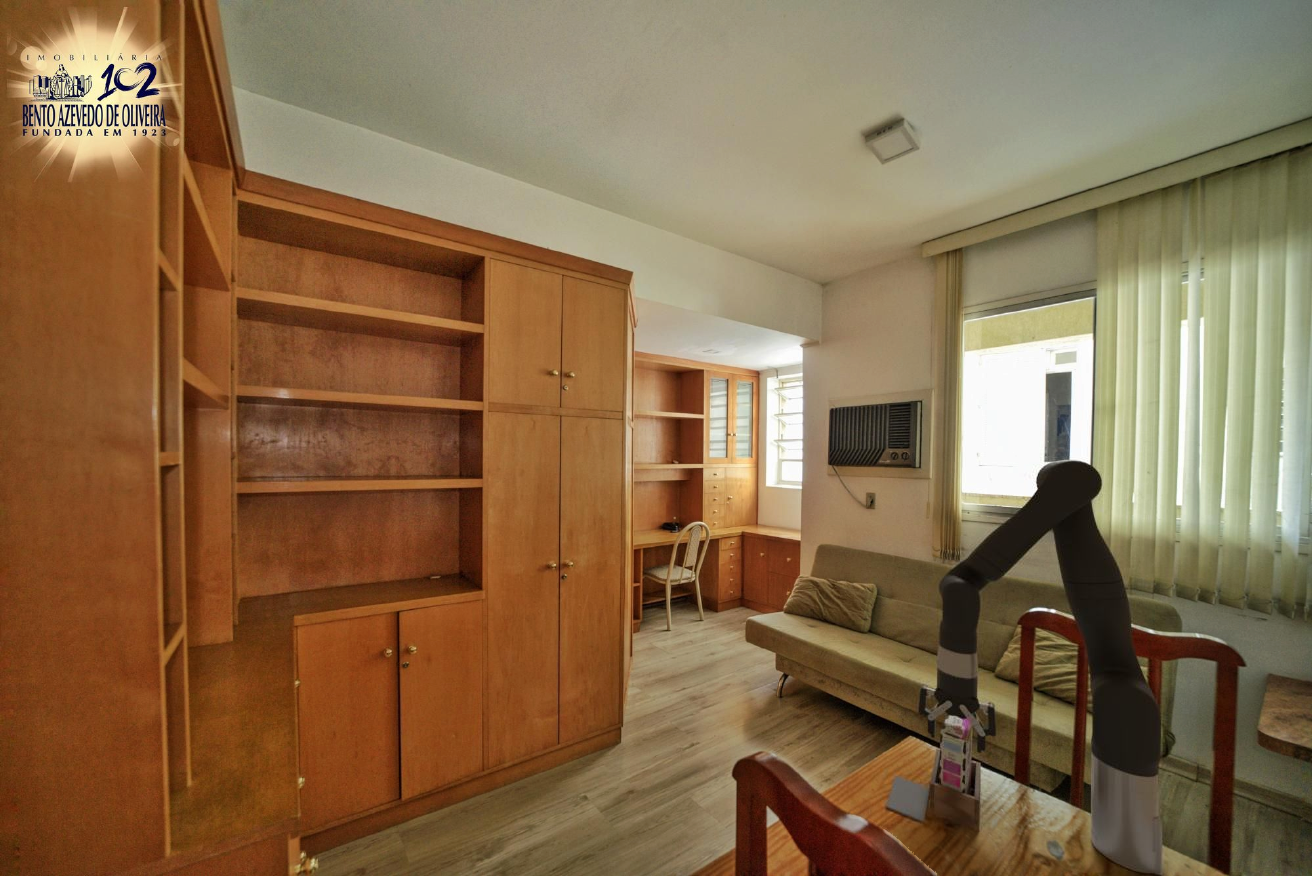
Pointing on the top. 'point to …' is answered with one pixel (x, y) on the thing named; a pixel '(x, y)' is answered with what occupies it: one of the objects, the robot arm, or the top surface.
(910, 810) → the grey mat
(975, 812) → the walnut sleeve
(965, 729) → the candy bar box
